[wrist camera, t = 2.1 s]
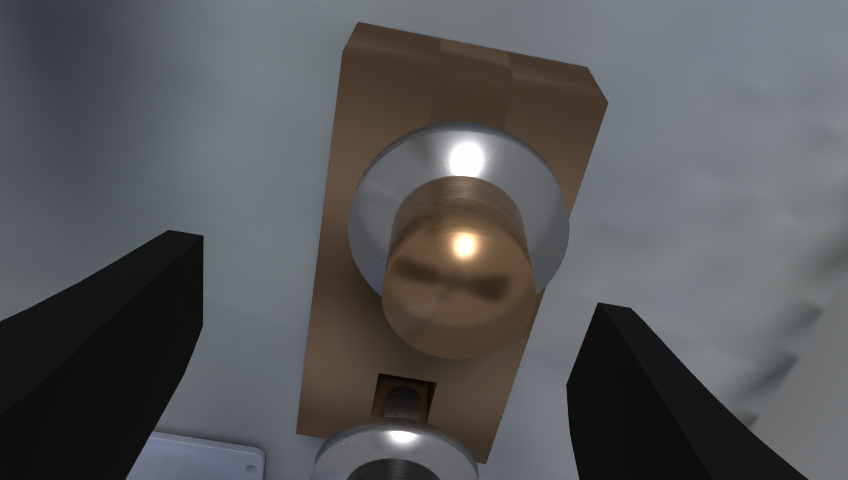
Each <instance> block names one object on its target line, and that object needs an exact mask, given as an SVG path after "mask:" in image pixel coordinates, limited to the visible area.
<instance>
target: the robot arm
mask: <svg viewBox="0 0 848 480" xmlns="http://www.w3.org/2000/svg"><path fill="white" fill-rule="evenodd" d="M203 239H204V236H202V235H196V234H190V233H184V232H178V231H172V230H168V231H166V232H164V233H162V234H161V235H159V236H157V237H155V238H154V239H152V240H150V241H149V242H147V243H145V244H144V245H142V246H140V247H139V248H137V249H135V250H134V251H132V252H130V253H129V254H127V255H125V256H124V257H122V258H120V259H119V260H117V261H115V262H113V263H112V264H110V265H108V266H107V267H105V268H103V269H101V270H100V271H98V272H96V273H94V274H93V275H91V276H89V277H88V278H86V279H84V280H82V281H80V282H79V283H77V284H75V285H73V286H71V287H69V288H67V289H65V290H63V291H61V292H59V293H57V294H55V295H53V296H51V297H50V298H48V299H46V300H44V301H42V302H40V303H38V304H36V305H34V306H32V307H30V308H28V309H26V310H24V311H22V312H20V313H18V314H15V315H13V316H11V317H9V318H7V319H4V320H2V321H0V480H263V479H264V469H265V458H266V457H265V453H264V452H263V451H262V450H261V449H259V448H256V447H250V446H244V445H238V444H231V443H225V442H218V441H212V440H206V439H199V438H193V437H187V436H180V435H174V434H168V433H161V432H155V431H153V430H154V428H155V426H156V424H157V423H158V421H159V419H160V417H161V415H162V414H163V412H164V410H165V408H166V406H167V405H168V403H169V401H170V399H171V397H172V395H173V394H174V392H175V390H176V388H177V386H178V385H179V383H180V381H181V379H182V377H183V375H184V373H185V371H186V368H187V366H188V363H189V361H190V358H191V356H192V353H193V351H194V348H195V346H196V343H197V340H198V338H199V335H200V332H201V330H202V327H203ZM566 387H567V403H568V417H569V428H570V436H571V441H572V446H573V451H574V456H575V461H576V465H577V470H578V475H579V479H580V480H808V479H807V478H806V477H804V476H803V475H802V474H801V473H799V472H798V471H797V470H796V469H795V468H793V467H792V466H791V465H790V464H788V463H787V462H786V461H785V460H784V459H782V458H781V457H780V456H779V455H777V454H776V453H775V452H774V451H773V450H771V449H770V448H769V447H768V446H767V445H766V444H764V443H763V442H762V441H761V440H760V439H759V438H758V437H757V436H755V435H754V434H753V433H752V432H751V431H750V430H749V429H748V428H747V427H746V426H745V425H743V424H742V423H741V422H740V421H739V420H738V419H737V418H736V417H735V416H734V415H733V414H732V413H731V412H730V411H729V410H728V409H727V408H726V407H725V406H724V405H722V404H721V403H720V402H719V401H718V400H717V399H716V398H715V397H714V396H713V395H712V394H711V393H710V392H709V391H708V390H707V388H706V387H705V386H704V385H703V384H702V383H701V382H700V381H699V380H698V379H697V378H696V377H695V376H694V375H693V374H692V373H691V372H690V371H689V370H688V369H687V368H686V366H685V365H684V364H683V363H682V362H681V361H680V360H679V359H678V358H677V357H676V356H675V355H674V353H673V352H672V351H671V350H670V349H669V348H668V347H667V346H666V345H665V344H664V342H663V341H662V340H661V339H660V338H659V337H658V336H657V335H656V334H655V333H654V332H653V330H652V329H651V328H650V327H649V326H648V325H647V324H646V323H645V322H644V321H643V320H642V319H641V318H640V317H639V316H638V315H637V314H636V313H635V312H634V311H633V310H632V309H631V308H628V307H622V306H616V305H610V304H605V303H599V302H598V304H597V306H596V309H595V312H594V314H593V317H592V319H591V322H590V325H589V327H588V330H587V332H586V335H585V338H584V340H583V343H582V345H581V348H580V351H579V353H578V356H577V359H576V361H575V364H574V366H573V369H572V372H571V374H570V377H569V379H568V382H567V385H566ZM251 465H252V466H251Z"/></svg>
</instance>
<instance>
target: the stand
mask: <svg viewBox="0 0 848 480" xmlns="http://www.w3.org/2000/svg"><path fill="white" fill-rule="evenodd" d="M607 105H608V101H607V100H606V98H605V96H604V95H603V93H602V91H601V89H600V88H599V86H598V84H597V83H596V81H595V79H594V78H593V76H592V74H591V72H590V71H589V69H588V67H584V66H579V65H573V64H568V63H563V62H558V61H553V60H548V59H543V58H538V57H533V56H528V55H523V54H518V53H513V52H508V51H502V50H497V49H492V48H487V47H482V46H477V45H472V44H467V43H462V42H457V41H452V40H447V39H442V38H437V37H431V36H426V35H421V34H416V33H411V32H406V31H401V30H396V29H391V28H386V27H381V26H376V25H371V24H366V23H360V22H358V23H357V25H356V27H355V29H354V31H353V33H352V34H351V36H350V38H349V40H348V42H347V44H346V46H345V48H344V50H343V53H342V61H341V69H340V77H339V86H338V94H337V102H336V110H335V118H334V127H333V135H332V143H331V151H330V159H329V167H328V176H327V184H326V192H325V200H324V208H323V217H322V225H321V233H320V241H319V249H318V258H317V266H316V274H315V282H314V290H313V299H312V307H311V315H310V323H309V331H308V339H307V348H306V356H305V364H304V372H303V380H302V389H301V397H300V405H299V413H298V421H297V430H296V434H300V435H307V436H313V437H319V438H325V439H328V438H329V437H331V436H332V435H333V434H335V433H336V432H337V431H339V430H341V429H343V428H344V427H347V426H349V425H351V424H354V423H357V422H360V421H364V420H368V419H374V418H383V417H384V409H385V400H386V395H387V393H388V392H389V391H390V390H391V389H393V388H395V387H399V386H405V387H410V388H412V389H414V390H415V391H417V392H418V394H419V395H420V399H421V401H420V418H419V421H423V422H426V423H429V424H432V425H434V426H437V427H439V428H441V429H443V430H445V431H447V432H449V433H450V434H452V435H453V436H455V437H456V438H457V439H459V440H460V441H461V442H462V443H463V444H464V445H465V446H466V447H467V448H468V450H469V451H470V452H471V454H472V456H473V457H474V459H475V461H476V462H477V463H483V464H486V462H487V459H488V456H489V453H490V450H491V447H492V444H493V441H494V438H495V436H496V433H497V430H498V427H499V424H500V421H501V418H502V415H503V412H504V409H505V406H506V403H507V400H508V397H509V394H510V391H511V388H512V385H513V382H514V380H515V377H516V374H517V371H518V368H519V365H520V362H521V359H522V356H523V353H524V350H525V347H526V344H527V341H528V338H529V335H530V332H531V329H532V326H533V323H534V321H535V318H536V315H537V312H538V309H539V306H540V303H541V300H542V297H543V294H544V291H545V288H546V287H545V288H544V289H543V290H542V291H541V292H540V293H539V294H537V295H536V303H535V309H534V313H533V315H532V318H531V320H530V322H529V324H528V325H527V327H526V328H525V330H524V331H523V332H522V333H521V335H520V336H518V337H517V338H516V339H515V340H514V341H513V342H512V343H510V344H509V345H507V346H506V347H504V348H502V349H501V350H499V351H496V352H494V353H492V354H489V355H486V356H482V357H478V358H473V359H446V358H440V357H435V356H432V355H429V354H426V353H424V352H421V351H419V350H417V349H415V348H414V347H412V346H410V345H409V344H408V343H406V342H405V341H404V340H402V339H401V338H400V337H399V336H398V335H397V334H396V332H395V331H394V330H393V329H392V327H391V326H390V324H389V322H388V320H387V318H386V316H385V313H384V310H383V305H382V296H380V295H379V294H378V293H377V292H376V291H375V290H374V289H373V288H372V287H371V286H370V285H369V283H368V282H367V281H366V279H365V278H364V277H363V275H362V274H361V272H360V270H359V268H358V267H357V265H356V263H355V260H354V257H353V255H352V252H351V248H350V243H349V236H348V220H349V213H350V208H351V204H352V200H353V197H354V193H355V190H356V187H357V185H358V182H359V180H360V178H361V176H362V174H363V173H364V171H365V169H366V168H367V166H368V165H369V164H370V162H371V161H372V160H373V159H374V157H375V156H376V155H377V154H378V153H379V152H380V151H382V150H383V149H384V148H385V147H386V146H387V145H389V144H390V143H392V142H393V141H394V140H396V139H397V138H399V137H401V136H403V135H405V134H407V133H408V132H411V131H413V130H416V129H419V128H421V127H425V126H428V124H430V125H433V124H436V123H445V122H473V123H481V124H485V125H489V126H493V127H497V128H499V129H502V130H504V131H507V132H509V133H511V134H513V135H515V136H517V137H518V138H520V139H522V140H524V141H525V142H526V143H528V144H529V145H530V146H532V147H533V148H534V149H535V150H536V151H537V152H538V153H539V154H540V155H541V156H542V157H543V158H544V159H545V160H546V162H547V163H548V164H549V166H550V167H551V168H552V170H553V172H554V174H555V176H556V177H557V179H558V181H559V184H560V187H561V190H562V192H563V196H564V199H565V202H566V206H567V211H568V216H569V217H570V214H571V211H572V208H573V205H574V203H575V200H576V197H577V194H578V191H579V188H580V185H581V182H582V179H583V176H584V173H585V170H586V167H587V164H588V161H589V158H590V155H591V152H592V149H593V146H594V144H595V141H596V138H597V135H598V132H599V129H600V126H601V123H602V120H603V117H604V114H605V111H606V108H607Z"/></svg>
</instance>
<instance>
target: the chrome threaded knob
mask: <svg viewBox="0 0 848 480" xmlns="http://www.w3.org/2000/svg"><path fill="white" fill-rule="evenodd" d="M420 401H421V399H420V395H419V394H418V392H417V391H415V390H414V389H412V388H410V387H405V386H399V387H395V388H393V389H391V390H390V391H389V392H388V393H387V395H386V400H385V409H384V417H383V418H374V419H368V420H364V421H360V422H357V423H354V424H351V425H349V426H347V427H344V428H343V429H341V430H339V431H337V432H336V433H335V434H333V435H332V436H331V437H329V438H328V440H327V441H326V442H325V443H324V444H323V445H322V447H321V448H320V449H319V451H318V453H317V456H316V458H315V462H314V467H313V471H312V476H311V480H479V472H478V467H477V464H476V461H475V459H474V457H473V456H472V454H471V452H470V451H469V450H468V448H467V447H466V446H465V445H464V444H463V443H462V442H461V441H460V440H459V439H457V438H456V437H455V436H453V435H452V434H450V433H449V432H447V431H445V430H443V429H441V428H439V427H437V426H434V425H432V424H429V423H426V422H423V421H419V418H420Z"/></svg>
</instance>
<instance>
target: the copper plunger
mask: <svg viewBox="0 0 848 480" xmlns="http://www.w3.org/2000/svg"><path fill="white" fill-rule="evenodd" d="M348 236H349V243H350V248H351V252H352V255H353V257H354V260H355V263H356V265H357V267H358V268H359V270H360V272H361V274H362V275H363V277H364V278H365V279H366V281H367V282H368V283H369V285H370V286H371V287H372V288H373V289H374V290H375V291H376V292H377V293H378V294H379V295H380V296H382V305H383V310H384V313H385V316H386V318H387V320H388V322H389V324H390V326H391V327H392V329H393V330H394V331H395V332H396V334H397V335H398V336H399V337H400V338H401V339H402V340H404V341H405V342H406V343H408V344H409V345H410V346H412V347H414V348H415V349H417V350H419V351H421V352H424V353H426V354H429V355H432V356H435V357H440V358H446V359H473V358H478V357H482V356H486V355H489V354H492V353H494V352H496V351H499V350H501V349H502V348H504V347H506V346H507V345H509V344H510V343H512V342H513V341H514V340H515V339H516V338H517V337H518V336H520V335H521V333H522V332H523V331H524V330H525V328H526V327H527V325H528V324H529V322H530V320H531V318H532V315H533V313H534V309H535V303H536V295H537V294H539V293H540V292H541V291H542V290H543V289H544V288H545V287H546V286H547V284H548V283H549V282H550V281H551V279H552V278H553V277H554V275H555V273H556V272H557V270H558V268H559V267H560V265H561V262H562V260H563V258H564V255H565V252H566V248H567V244H568V238H569V216H568V211H567V206H566V202H565V199H564V196H563V192H562V190H561V187H560V184H559V181H558V179H557V177H556V176H555V174H554V172H553V170H552V168H551V167H550V166H549V164H548V163H547V162H546V160H545V159H544V158H543V157H542V156H541V155H540V154H539V153H538V152H537V151H536V150H535V149H534V148H533V147H532V146H530V145H529V144H528V143H526V142H525V141H524V140H522V139H520V138H518V137H517V136H515V135H513V134H511V133H509V132H507V131H504V130H502V129H499V128H497V127H493V126H489V125H485V124H481V123H473V122H445V123H436V124H433V125H429V126H425V127H421V128H419V129H416V130H413V131H411V132H408V133H407V134H405V135H403V136H401V137H399V138H397V139H396V140H394V141H393V142H392V143H390V144H389V145H387V146H386V147H385V148H384V149H383V150H382V151H380V152H379V153H378V154H377V155H376V156H375V157H374V159H373V160H372V161H371V162H370V164H369V165H368V166H367V168H366V169H365V171H364V173H363V174H362V176H361V178H360V180H359V182H358V185H357V187H356V190H355V193H354V197H353V200H352V204H351V208H350V213H349V220H348Z"/></svg>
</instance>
